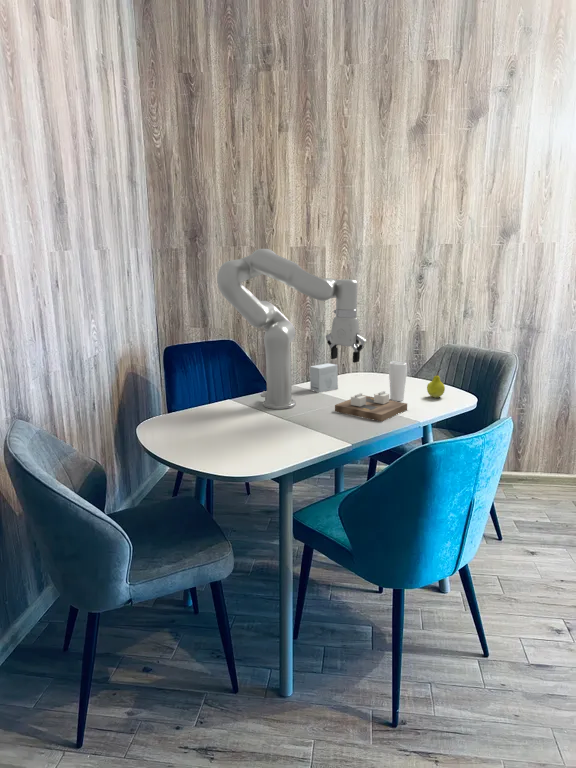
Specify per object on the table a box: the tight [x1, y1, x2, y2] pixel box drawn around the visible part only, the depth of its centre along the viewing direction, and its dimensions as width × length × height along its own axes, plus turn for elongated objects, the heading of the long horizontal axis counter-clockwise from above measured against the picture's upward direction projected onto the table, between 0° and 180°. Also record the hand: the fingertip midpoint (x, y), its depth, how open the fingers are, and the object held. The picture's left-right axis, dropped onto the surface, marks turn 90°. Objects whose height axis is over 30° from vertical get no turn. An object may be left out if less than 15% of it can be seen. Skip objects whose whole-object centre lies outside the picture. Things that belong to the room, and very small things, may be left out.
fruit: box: [426, 368, 446, 399], centre depth 226 cm, size 7×7×12 cm
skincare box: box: [309, 362, 339, 393], centre depth 240 cm, size 10×6×10 cm, turn 126°
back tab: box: [373, 390, 390, 404], centre depth 210 cm, size 4×4×4 cm
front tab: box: [350, 393, 367, 407], centre depth 208 cm, size 4×4×4 cm
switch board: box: [334, 394, 408, 422], centre depth 209 cm, size 20×18×2 cm
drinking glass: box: [388, 360, 408, 402], centre depth 222 cm, size 7×7×15 cm
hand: (344, 360), depth 209 cm, fingers open, 9 cm apart
